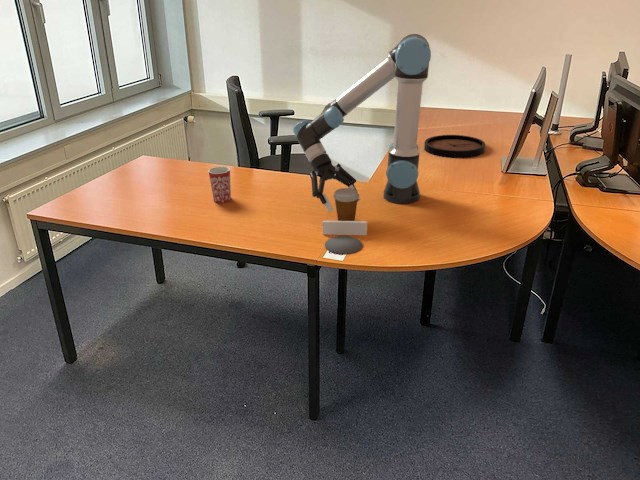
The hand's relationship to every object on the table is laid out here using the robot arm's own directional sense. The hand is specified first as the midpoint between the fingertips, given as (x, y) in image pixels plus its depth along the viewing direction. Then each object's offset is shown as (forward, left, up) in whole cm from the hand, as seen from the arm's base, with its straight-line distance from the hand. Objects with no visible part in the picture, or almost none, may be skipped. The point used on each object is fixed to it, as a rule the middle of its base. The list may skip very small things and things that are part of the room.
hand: (344, 205), depth 199 cm
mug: (+53, -22, -7) cm, 58 cm away
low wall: (-1, +11, -7) cm, 13 cm away
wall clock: (-54, -96, -7) cm, 110 cm away
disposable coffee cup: (-1, 0, -7) cm, 7 cm away
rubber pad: (-1, +20, -7) cm, 21 cm away
